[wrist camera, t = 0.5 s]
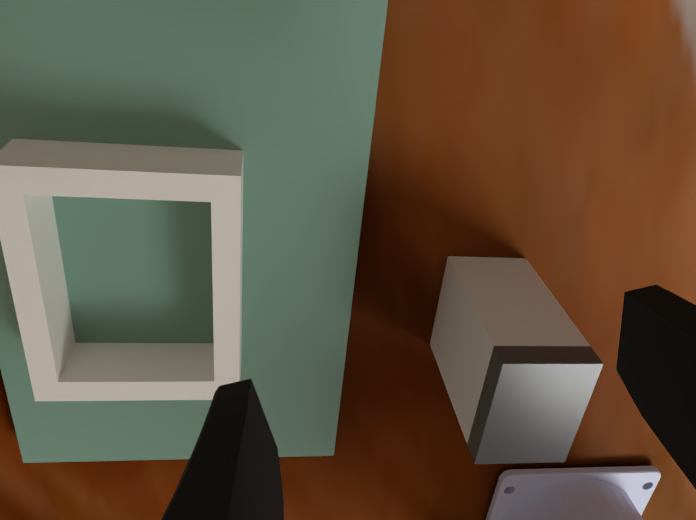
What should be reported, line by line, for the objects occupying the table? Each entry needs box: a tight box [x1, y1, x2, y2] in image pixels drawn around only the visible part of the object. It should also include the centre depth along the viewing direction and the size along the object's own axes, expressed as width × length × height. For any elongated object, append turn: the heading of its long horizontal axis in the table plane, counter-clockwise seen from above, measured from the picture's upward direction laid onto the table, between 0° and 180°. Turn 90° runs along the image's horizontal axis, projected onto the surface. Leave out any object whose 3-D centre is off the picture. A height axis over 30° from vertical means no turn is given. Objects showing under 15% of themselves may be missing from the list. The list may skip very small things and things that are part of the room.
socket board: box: [0, 0, 388, 463], centre depth 19 cm, size 18×12×3 cm, turn 174°
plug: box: [430, 256, 603, 464], centre depth 20 cm, size 4×3×6 cm
